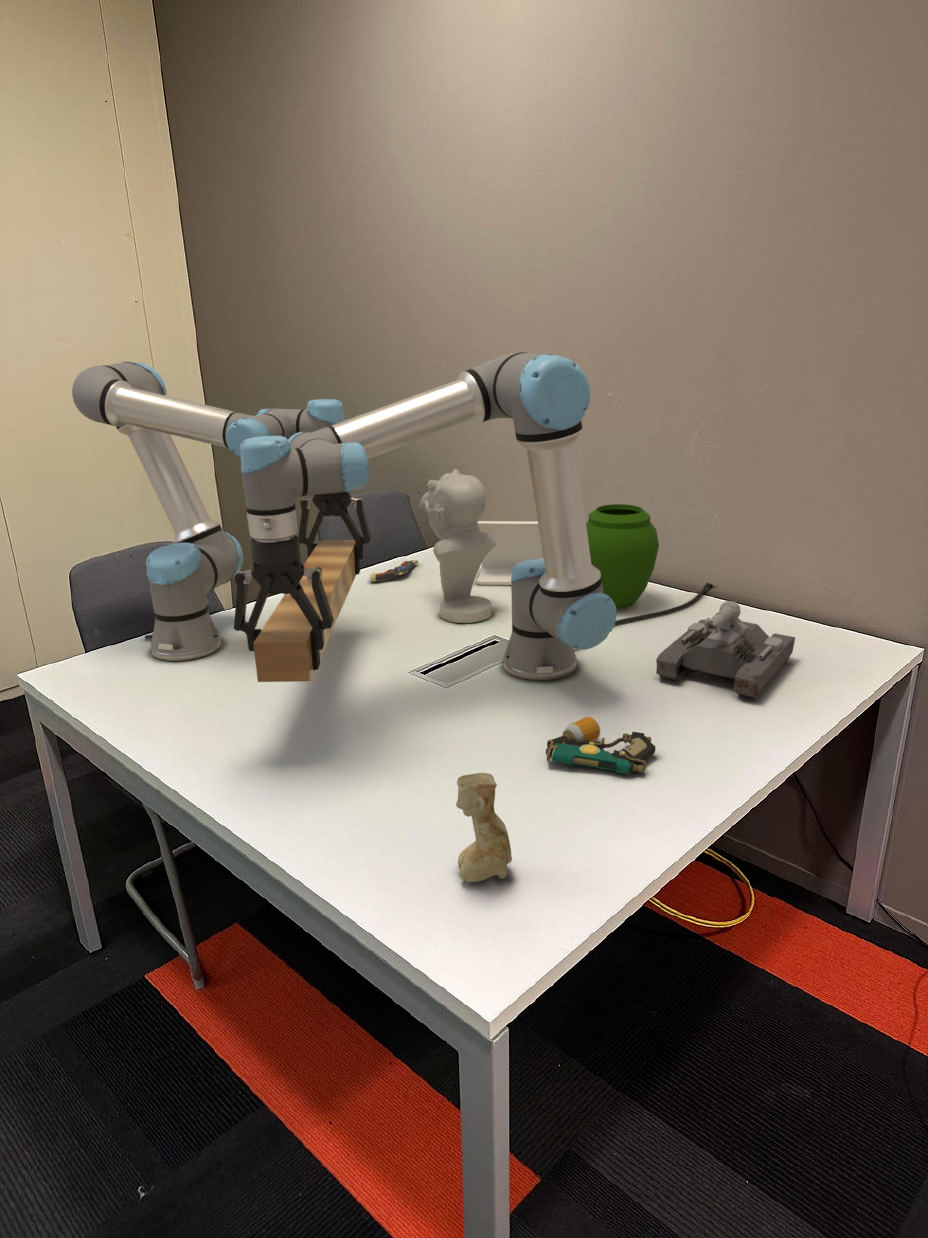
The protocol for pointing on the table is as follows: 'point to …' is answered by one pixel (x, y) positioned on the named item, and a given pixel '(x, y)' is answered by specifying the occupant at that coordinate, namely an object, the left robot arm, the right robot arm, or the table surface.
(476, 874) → the sculpture
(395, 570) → the toy gun
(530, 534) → the tablet stand
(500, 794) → the table surface
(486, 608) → the bust sculpture
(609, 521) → the vase
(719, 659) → the toy
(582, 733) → the spray gun
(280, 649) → the wide beam
